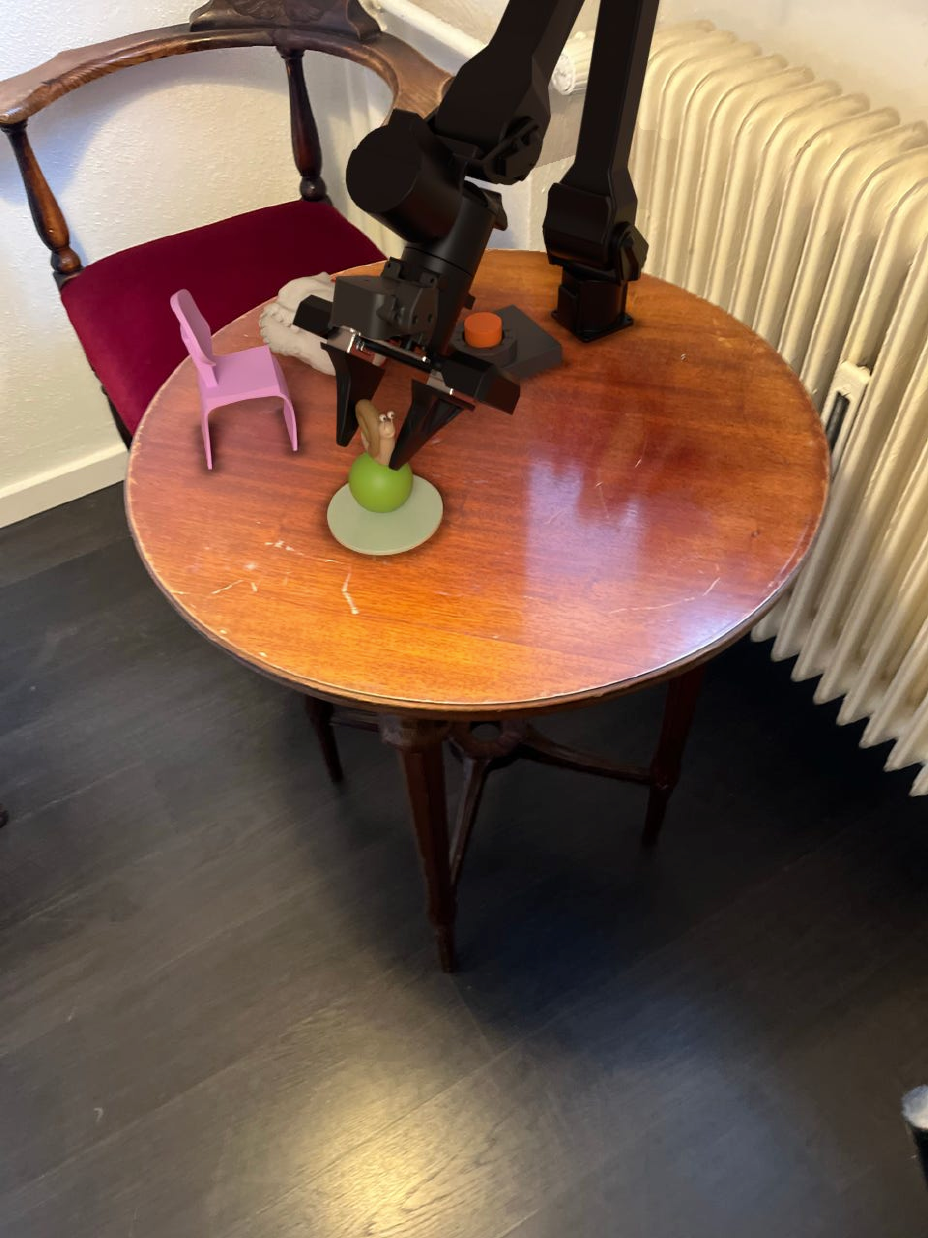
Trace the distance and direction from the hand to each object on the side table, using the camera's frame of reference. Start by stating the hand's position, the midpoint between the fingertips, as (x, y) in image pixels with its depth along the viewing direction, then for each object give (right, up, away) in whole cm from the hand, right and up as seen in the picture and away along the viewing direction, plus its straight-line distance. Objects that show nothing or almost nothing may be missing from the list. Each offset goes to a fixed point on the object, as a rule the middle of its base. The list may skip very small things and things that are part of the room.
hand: (366, 457), depth 71 cm
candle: (-3, +14, +21) cm, 25 cm away
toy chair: (-12, +4, +13) cm, 19 cm away
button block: (+11, +14, +20) cm, 27 cm away
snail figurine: (+1, -3, +6) cm, 7 cm away
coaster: (+1, -4, +6) cm, 7 cm away
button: (+10, +15, +16) cm, 24 cm away
